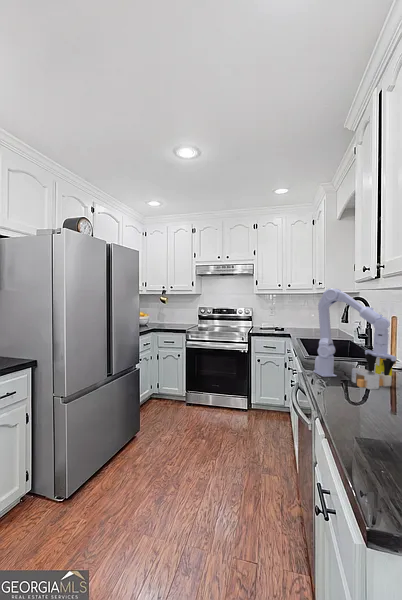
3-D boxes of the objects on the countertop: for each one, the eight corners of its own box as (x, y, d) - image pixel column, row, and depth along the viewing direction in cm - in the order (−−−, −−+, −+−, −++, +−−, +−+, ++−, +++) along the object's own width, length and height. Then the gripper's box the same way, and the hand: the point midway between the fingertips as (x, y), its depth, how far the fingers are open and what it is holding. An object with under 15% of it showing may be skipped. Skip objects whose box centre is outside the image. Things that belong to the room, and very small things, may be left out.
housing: (351, 381, 146) (352, 368, 146) (361, 381, 147) (361, 368, 147) (368, 389, 135) (369, 374, 134) (378, 389, 135) (379, 374, 135)
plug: (355, 385, 140) (356, 375, 140) (385, 383, 145) (386, 373, 145) (362, 387, 137) (362, 377, 136) (393, 385, 141) (393, 376, 141)
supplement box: (392, 378, 155) (393, 356, 154) (379, 377, 156) (380, 355, 155) (387, 374, 160) (388, 354, 160) (374, 374, 162) (375, 353, 161)
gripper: (360, 341, 147) (359, 369, 147) (389, 346, 133) (387, 377, 134) (371, 340, 149) (370, 368, 150) (400, 346, 136) (398, 376, 136)
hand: (378, 372), depth 142 cm, fingers open, 7 cm apart
